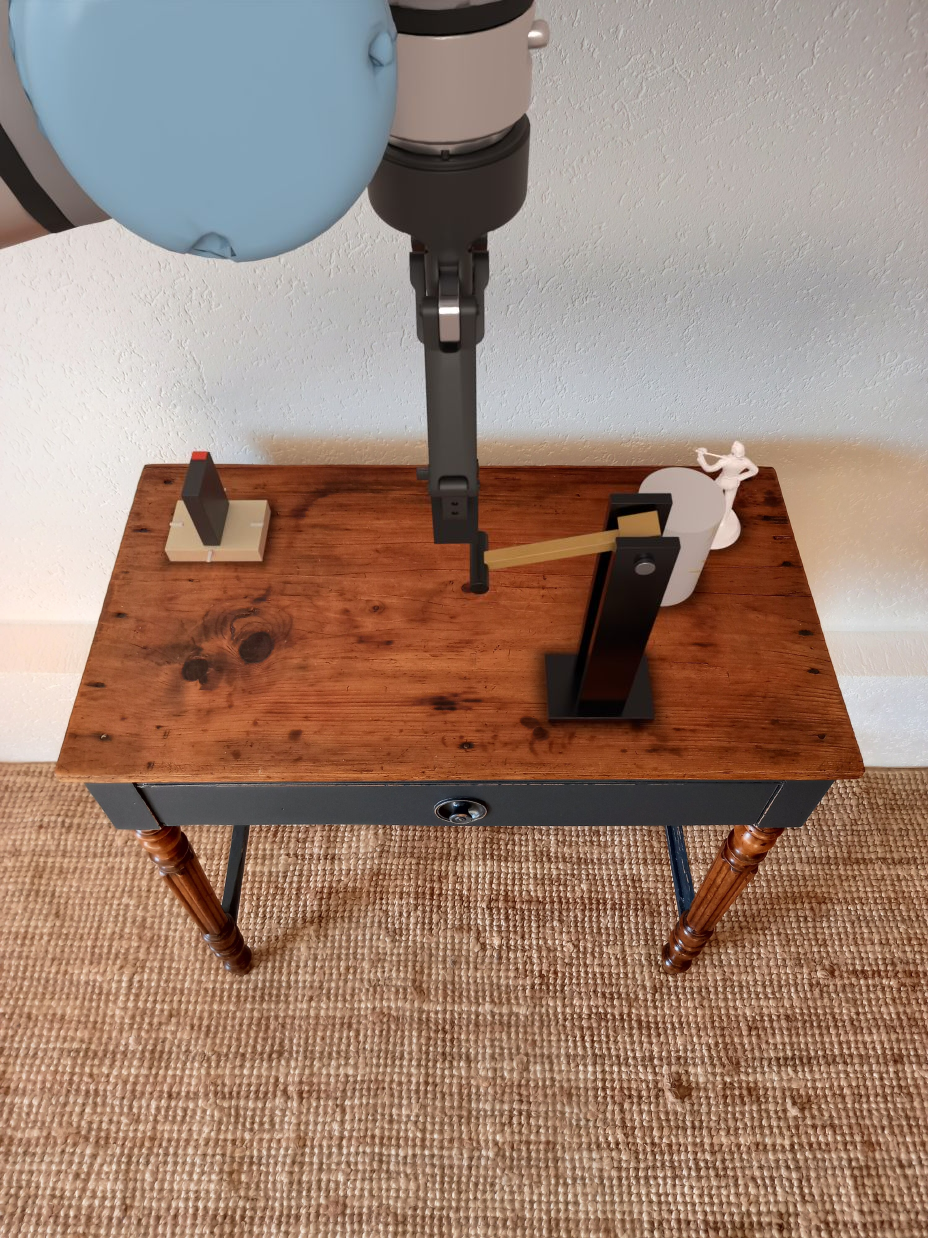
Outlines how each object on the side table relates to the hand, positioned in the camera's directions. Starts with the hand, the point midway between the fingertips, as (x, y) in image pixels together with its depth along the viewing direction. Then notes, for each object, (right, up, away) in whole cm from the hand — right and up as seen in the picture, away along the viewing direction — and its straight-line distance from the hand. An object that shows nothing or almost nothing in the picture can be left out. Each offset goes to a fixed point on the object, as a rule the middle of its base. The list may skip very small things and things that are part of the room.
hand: (455, 458), depth 53 cm
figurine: (+28, 0, +36) cm, 46 cm away
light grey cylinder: (+21, -6, +33) cm, 39 cm away
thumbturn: (-26, 0, +34) cm, 43 cm away
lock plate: (-26, -1, +36) cm, 45 cm away
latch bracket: (+13, -18, +25) cm, 33 cm away
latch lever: (+8, -6, +7) cm, 12 cm away
